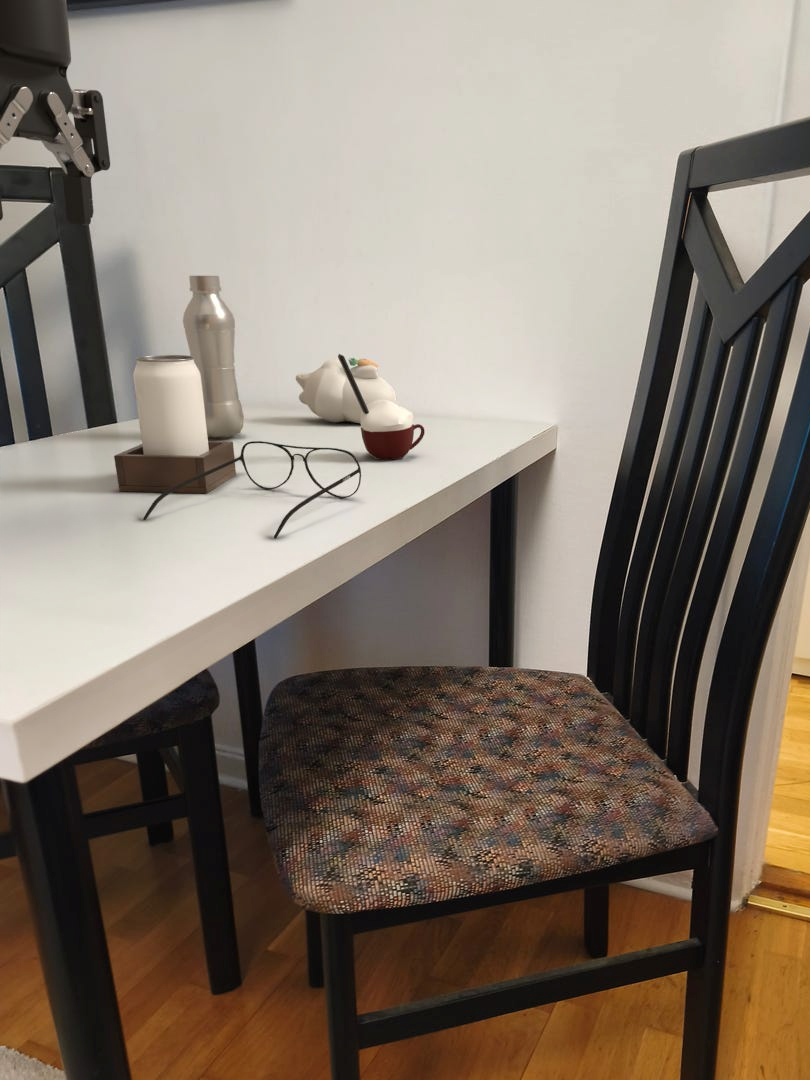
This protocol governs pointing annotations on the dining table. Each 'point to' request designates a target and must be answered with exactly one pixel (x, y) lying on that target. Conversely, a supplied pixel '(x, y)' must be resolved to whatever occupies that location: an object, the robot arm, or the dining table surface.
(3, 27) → the robot arm
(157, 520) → the dining table surface
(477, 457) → the dining table surface
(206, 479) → the tray
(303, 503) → the glasses
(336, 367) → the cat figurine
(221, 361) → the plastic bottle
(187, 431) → the can
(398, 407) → the cocoa
